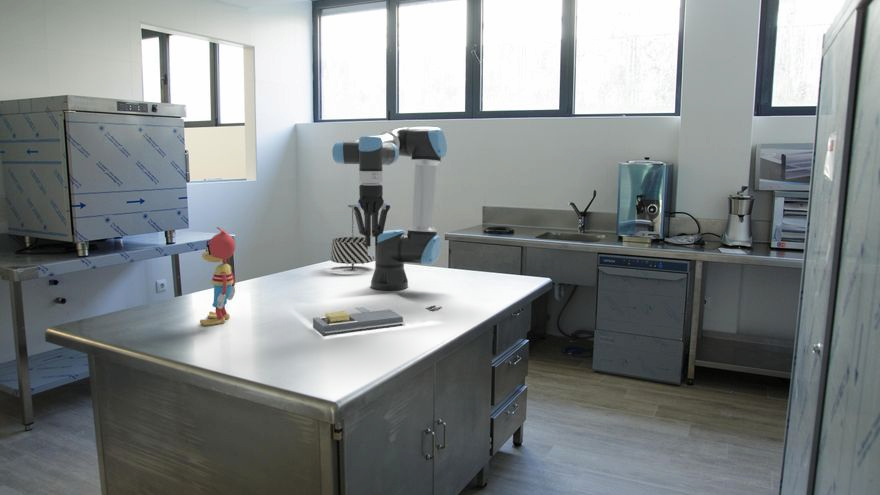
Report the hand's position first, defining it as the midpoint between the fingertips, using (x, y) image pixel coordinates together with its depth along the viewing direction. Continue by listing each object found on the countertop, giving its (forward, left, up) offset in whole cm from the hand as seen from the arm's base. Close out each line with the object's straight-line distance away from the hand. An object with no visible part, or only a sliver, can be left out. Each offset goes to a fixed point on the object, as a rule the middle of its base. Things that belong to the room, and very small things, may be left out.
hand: (371, 255), depth 202 cm
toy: (+46, -14, -21) cm, 52 cm away
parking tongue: (+2, -2, -20) cm, 20 cm away
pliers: (-16, +3, -21) cm, 26 cm away
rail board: (+9, +11, -20) cm, 25 cm away
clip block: (+13, +11, -18) cm, 25 cm away
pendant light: (-24, -81, -21) cm, 87 cm away
